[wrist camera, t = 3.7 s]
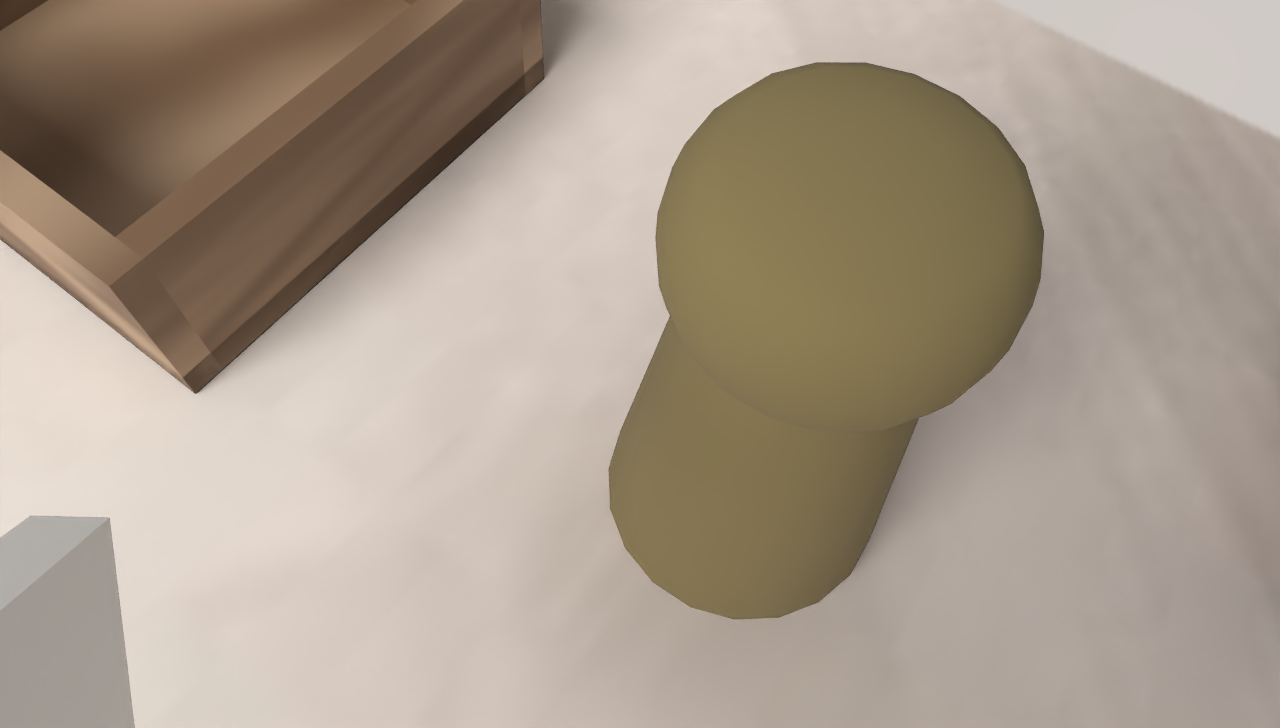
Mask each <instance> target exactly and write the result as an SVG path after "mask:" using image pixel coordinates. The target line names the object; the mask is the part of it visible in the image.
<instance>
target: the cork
mask: <svg viewBox="0 0 1280 728" xmlns="http://www.w3.org/2000/svg"><path fill="white" fill-rule="evenodd" d="M1043 238H1044V230H1043V226H1042V222H1041V218H1040V213H1039V209H1038V206H1037V202H1036V199H1035V196H1034V193H1033V190H1032V186H1031V183H1030V180H1029V177H1028V173H1027V170H1026V167H1025V165H1024V163H1023V162H1022V160H1021V159H1020V158H1019V156H1018V155H1017V153H1016V152H1015V151H1014V149H1013V148H1012V146H1011V145H1010V144H1009V142H1008V141H1007V139H1006V138H1005V137H1004V135H1003V134H1002V132H1001V131H1000V130H999V128H998V127H997V126H996V125H994V124H993V123H992V122H991V121H990V120H988V119H987V118H986V117H985V116H983V115H982V114H981V113H980V112H978V111H977V110H976V109H975V108H974V107H972V106H971V105H970V104H969V103H967V102H966V101H965V100H964V99H963V98H961V97H960V96H958V95H956V94H954V93H952V92H950V91H948V90H946V89H944V88H942V87H940V86H938V85H936V84H934V83H932V82H929V81H927V80H925V79H923V78H921V77H919V76H917V75H915V74H911V73H907V72H903V71H899V70H894V69H890V68H886V67H882V66H877V65H873V64H869V63H813V64H809V65H805V66H801V67H797V68H793V69H789V70H785V71H781V72H777V73H773V74H770V75H769V76H767V77H765V78H764V79H762V80H760V81H758V82H757V83H755V84H753V85H752V86H750V87H748V88H747V89H745V90H743V91H742V92H740V93H738V94H736V95H735V96H733V97H732V98H730V99H729V100H727V101H726V102H724V103H723V104H721V105H720V106H719V107H717V108H716V109H714V110H713V111H712V112H711V114H710V115H709V116H708V117H707V118H706V120H705V121H704V122H703V123H702V124H701V126H700V127H699V128H698V129H697V130H696V132H695V133H694V134H693V135H692V136H691V138H690V139H689V140H688V141H687V142H686V144H685V145H684V147H683V149H682V150H681V152H680V154H679V156H678V158H677V160H676V162H675V163H674V165H673V167H672V170H671V173H670V176H669V179H668V182H667V185H666V189H665V192H664V195H663V198H662V201H661V204H660V207H659V210H658V216H657V227H656V251H657V265H658V278H659V287H660V290H661V293H662V296H663V299H664V302H665V305H666V308H667V310H668V312H669V314H670V317H669V320H668V322H667V324H666V327H665V329H664V331H663V334H662V336H661V338H660V341H659V343H658V345H657V348H656V350H655V352H654V355H653V357H652V359H651V361H650V364H649V366H648V368H647V371H646V373H645V375H644V378H643V380H642V382H641V385H640V387H639V389H638V392H637V394H636V396H635V399H634V401H633V403H632V406H631V408H630V410H629V412H628V415H627V417H626V419H625V422H624V424H623V426H622V429H621V431H620V434H619V437H618V440H617V444H616V447H615V450H614V453H613V457H612V460H611V463H610V467H609V487H610V509H611V512H612V514H613V517H614V520H615V522H616V525H617V528H618V530H619V533H620V535H621V538H622V541H623V543H624V546H625V548H626V549H627V551H628V552H629V553H630V554H631V556H632V557H633V558H634V559H635V561H636V562H637V563H638V564H639V565H640V567H641V568H642V569H643V570H644V572H645V573H646V574H647V575H648V577H649V578H650V579H651V580H652V581H653V582H654V583H655V584H657V585H658V586H660V587H661V588H663V589H664V590H666V591H667V592H669V593H670V594H672V595H673V596H675V597H676V598H678V599H679V600H681V601H682V602H684V603H686V604H687V605H689V606H690V607H693V608H696V609H700V610H703V611H707V612H711V613H714V614H718V615H721V616H725V617H728V618H732V619H752V618H777V617H781V616H784V615H786V614H789V613H791V612H794V611H797V610H799V609H802V608H804V607H807V606H810V605H812V604H815V603H817V602H819V601H820V600H822V599H823V598H824V597H825V596H826V595H827V594H828V593H830V592H831V591H832V590H833V589H834V588H835V587H837V586H838V585H839V584H840V583H841V582H842V581H843V580H845V579H846V578H847V577H848V576H849V575H850V574H851V572H852V570H853V568H854V566H855V565H856V563H857V561H858V559H859V557H860V556H861V554H862V552H863V550H864V548H865V546H866V545H867V543H868V541H869V539H870V536H871V534H872V532H873V529H874V527H875V524H876V522H877V519H878V517H879V514H880V512H881V509H882V507H883V505H884V502H885V500H886V497H887V495H888V492H889V490H890V487H891V485H892V482H893V480H894V478H895V475H896V473H897V470H898V468H899V465H900V463H901V460H902V458H903V455H904V453H905V451H906V448H907V446H908V443H909V441H910V438H911V436H912V433H913V431H914V429H915V426H916V424H917V421H918V419H919V417H922V416H925V415H928V414H930V413H932V412H935V411H937V410H939V409H941V408H943V407H945V406H947V405H949V404H951V403H952V402H954V401H955V400H956V399H957V398H959V397H960V396H961V395H962V394H963V393H965V392H966V391H967V390H968V389H969V388H971V387H972V386H973V385H974V384H976V383H977V382H978V381H979V380H980V379H982V378H983V377H984V376H985V375H986V374H988V373H989V372H990V371H991V370H992V369H993V368H994V367H995V366H996V364H997V363H998V362H999V361H1000V360H1001V359H1002V358H1003V356H1004V355H1005V354H1006V353H1007V352H1008V351H1009V349H1010V347H1011V345H1012V344H1013V342H1014V340H1015V338H1016V336H1017V334H1018V332H1019V330H1020V328H1021V326H1022V325H1023V323H1024V321H1025V319H1026V317H1027V315H1028V313H1029V311H1030V309H1031V308H1032V305H1033V302H1034V299H1035V296H1036V292H1037V289H1038V286H1039V282H1040V278H1041V265H1042V251H1043Z"/></svg>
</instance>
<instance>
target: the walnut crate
mask: <svg viewBox="0 0 1280 728" xmlns="http://www.w3.org/2000/svg"><path fill="white" fill-rule="evenodd" d="M543 79H544V69H543V47H542V25H541V4H540V0H0V239H1V240H2V241H3V242H4V243H6V244H7V245H8V246H9V247H11V248H12V249H13V250H15V251H16V252H17V253H18V254H20V255H21V256H22V257H23V258H25V259H26V260H27V261H28V262H30V263H31V264H32V265H33V266H35V267H36V268H37V269H39V270H40V271H41V272H42V273H44V274H45V275H46V276H47V277H49V278H50V279H51V280H52V281H54V282H55V283H56V284H57V285H59V286H60V287H61V288H62V289H64V290H65V291H66V292H68V293H69V294H70V295H71V296H73V297H74V298H75V299H76V300H78V301H79V302H80V303H81V304H83V305H84V306H85V307H86V308H88V309H89V310H90V311H92V312H93V313H94V314H95V315H97V316H98V317H99V318H100V319H102V320H103V321H104V322H105V323H107V324H108V325H109V326H110V327H112V328H113V329H114V330H116V331H117V332H118V333H119V334H121V335H122V336H123V337H124V338H126V339H127V340H128V341H129V342H131V343H132V344H133V345H134V346H136V347H137V348H138V349H140V350H141V351H142V352H143V353H145V354H146V355H147V356H148V357H150V358H151V359H152V360H153V361H155V362H156V363H157V364H158V365H160V366H161V367H162V368H164V369H165V370H166V371H167V372H169V373H170V374H171V375H172V376H174V377H175V378H176V379H177V380H179V381H180V382H181V383H182V384H184V385H185V386H186V387H188V388H189V389H190V390H191V391H193V392H194V393H195V394H196V393H197V392H198V391H199V390H200V389H201V388H202V387H203V386H205V385H206V384H207V383H208V382H209V381H210V380H211V379H212V378H213V377H215V376H216V375H217V374H218V373H219V372H220V371H221V370H222V369H223V368H224V367H226V366H227V365H228V364H229V363H230V362H231V361H232V360H233V359H234V358H236V357H237V356H238V355H239V354H240V353H241V352H242V351H243V350H244V349H245V348H247V347H248V346H249V345H250V344H251V343H252V342H253V341H254V340H255V339H257V338H258V337H259V336H260V335H261V334H262V333H263V332H264V331H265V330H266V329H268V328H269V327H270V326H271V325H272V324H273V323H274V322H275V321H276V320H278V319H279V318H280V317H281V316H282V315H283V314H284V313H285V312H286V311H287V310H289V309H290V308H291V307H292V306H293V305H294V304H295V303H296V302H297V301H299V300H300V299H301V298H302V297H303V296H304V295H305V294H306V293H307V292H308V291H310V290H311V289H312V288H313V287H314V286H315V285H316V284H317V283H318V282H320V281H321V280H322V279H323V278H324V277H325V276H326V275H327V274H328V273H329V272H331V271H332V270H333V269H334V268H335V267H336V266H337V265H338V264H339V263H341V262H342V261H343V260H344V259H345V258H346V257H347V256H348V255H349V254H350V253H352V252H353V251H354V250H355V249H356V248H357V247H358V246H359V245H360V244H361V243H363V242H364V241H365V240H366V239H367V238H368V237H369V236H370V235H371V234H373V233H374V232H375V231H376V230H377V229H378V228H379V227H380V226H381V225H382V224H384V223H385V222H386V221H387V220H388V219H389V218H390V217H391V216H392V215H394V214H395V213H396V212H397V211H398V210H399V209H400V208H401V207H402V206H403V205H405V204H406V203H407V202H408V201H409V200H410V199H411V198H412V197H413V196H415V195H416V194H417V193H418V192H419V191H420V190H421V189H422V188H423V187H424V186H426V185H427V184H428V183H429V182H430V181H431V180H432V179H433V178H434V177H436V176H437V175H438V174H439V173H440V172H441V171H442V170H443V169H444V168H445V167H447V166H448V165H449V164H450V163H451V162H452V161H453V160H454V159H455V158H457V157H458V156H459V155H460V154H461V153H462V152H463V151H464V150H465V149H466V148H468V147H469V146H470V145H471V144H472V143H473V142H474V141H475V140H476V139H478V138H479V137H480V136H481V135H482V134H483V133H484V132H485V131H486V130H487V129H489V128H490V127H491V126H492V125H493V124H494V123H495V122H496V121H497V120H499V119H500V118H501V117H502V116H503V115H504V114H505V113H506V112H507V111H508V110H510V109H511V108H512V107H513V106H514V105H515V104H516V103H517V102H518V101H520V100H521V99H522V98H523V97H524V96H525V95H526V94H527V93H528V92H529V91H531V90H532V89H533V88H534V87H535V86H536V85H537V84H538V83H539V82H541V81H542V80H543Z"/></svg>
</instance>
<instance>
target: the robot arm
mask: <svg viewBox="0 0 1280 728" xmlns="http://www.w3.org/2000/svg"><path fill="white" fill-rule="evenodd" d="M0 728H135V725H134V717H133V709H132V700H131V692H130V684H129V675H128V667H127V659H126V650H125V642H124V634H123V625H122V617H121V609H120V600H119V592H118V584H117V575H116V567H115V559H114V550H113V542H112V534H111V525H110V518H107V517H62V516H30V517H28V518H27V519H25V520H24V521H23V522H21V523H20V524H19V525H17V526H16V527H15V528H13V529H12V530H10V531H9V532H8V533H6V534H5V535H4V536H2V537H1V538H0Z"/></svg>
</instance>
